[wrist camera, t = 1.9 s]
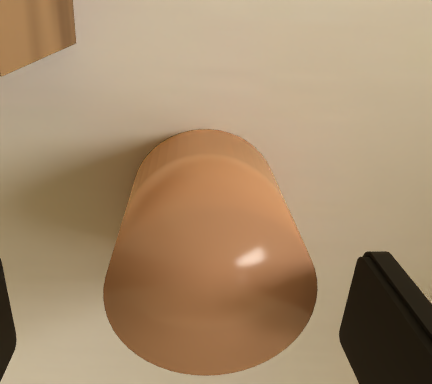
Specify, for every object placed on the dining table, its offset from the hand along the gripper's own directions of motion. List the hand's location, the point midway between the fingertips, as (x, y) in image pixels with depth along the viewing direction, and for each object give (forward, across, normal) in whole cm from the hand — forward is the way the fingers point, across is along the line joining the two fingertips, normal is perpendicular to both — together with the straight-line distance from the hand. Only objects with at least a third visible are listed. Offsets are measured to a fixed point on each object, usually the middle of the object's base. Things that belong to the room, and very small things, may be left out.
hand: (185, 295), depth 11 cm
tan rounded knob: (+6, -1, 0) cm, 6 cm away
